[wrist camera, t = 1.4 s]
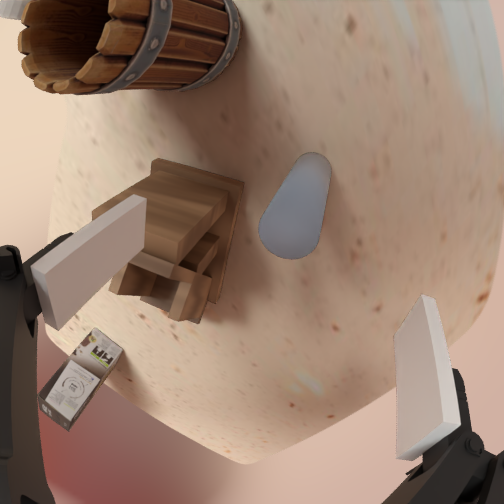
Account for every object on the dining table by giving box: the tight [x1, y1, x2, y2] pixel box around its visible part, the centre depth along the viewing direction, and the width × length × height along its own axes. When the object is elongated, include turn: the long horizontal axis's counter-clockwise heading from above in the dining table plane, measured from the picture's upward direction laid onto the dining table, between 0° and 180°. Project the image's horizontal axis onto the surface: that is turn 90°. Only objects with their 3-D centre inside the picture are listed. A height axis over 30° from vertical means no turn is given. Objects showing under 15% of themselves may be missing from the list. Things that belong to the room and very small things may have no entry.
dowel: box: [258, 152, 331, 259], centre depth 22 cm, size 3×3×12 cm
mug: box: [0, 0, 242, 95], centre depth 17 cm, size 16×11×15 cm
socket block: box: [92, 158, 244, 324], centre depth 29 cm, size 16×9×12 cm, turn 167°
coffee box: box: [37, 328, 123, 432], centre depth 44 cm, size 9×6×16 cm
